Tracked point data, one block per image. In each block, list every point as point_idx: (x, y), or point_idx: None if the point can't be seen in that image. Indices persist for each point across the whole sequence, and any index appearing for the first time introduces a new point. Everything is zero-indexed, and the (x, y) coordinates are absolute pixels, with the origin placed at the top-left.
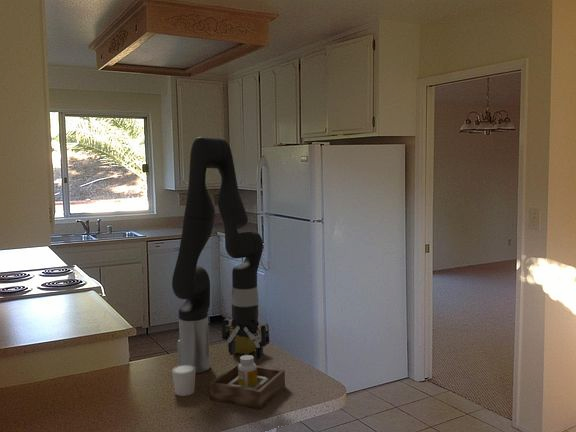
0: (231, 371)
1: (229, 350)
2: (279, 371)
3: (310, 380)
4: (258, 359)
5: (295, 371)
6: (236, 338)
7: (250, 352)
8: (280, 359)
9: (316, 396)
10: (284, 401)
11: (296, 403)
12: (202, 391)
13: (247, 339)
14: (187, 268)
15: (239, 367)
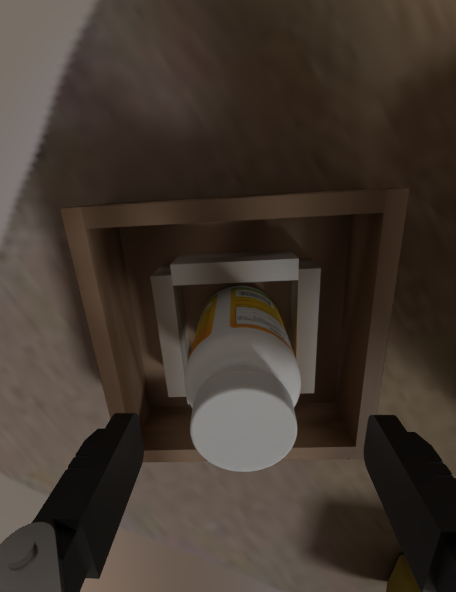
0: (359, 381)
1: (420, 449)
2: None
3: None
4: (116, 419)
5: (180, 506)
6: None
7: (394, 569)
8: (273, 557)
9: (2, 384)
10: (70, 308)
11: (22, 311)
12: (439, 250)
13: None
14: None
15: (272, 347)
